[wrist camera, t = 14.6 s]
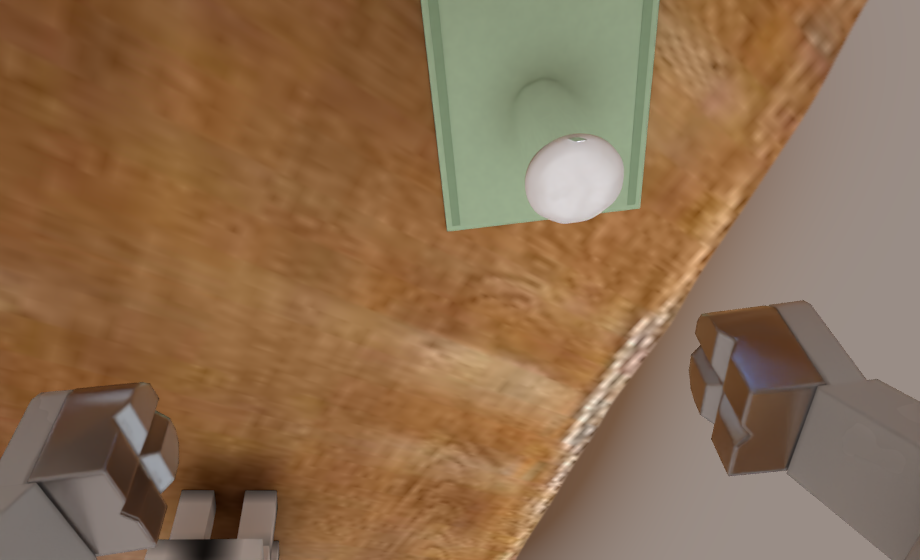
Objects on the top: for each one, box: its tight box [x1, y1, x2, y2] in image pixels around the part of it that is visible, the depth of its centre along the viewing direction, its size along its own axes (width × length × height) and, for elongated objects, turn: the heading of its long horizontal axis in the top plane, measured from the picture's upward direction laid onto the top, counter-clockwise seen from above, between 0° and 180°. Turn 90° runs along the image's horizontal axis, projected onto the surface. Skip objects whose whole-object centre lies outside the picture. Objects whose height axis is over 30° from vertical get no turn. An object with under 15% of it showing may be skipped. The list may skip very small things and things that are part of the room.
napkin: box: [421, 0, 659, 231], centre depth 38 cm, size 16×12×1 cm
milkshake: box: [514, 79, 624, 224], centre depth 34 cm, size 5×5×10 cm
